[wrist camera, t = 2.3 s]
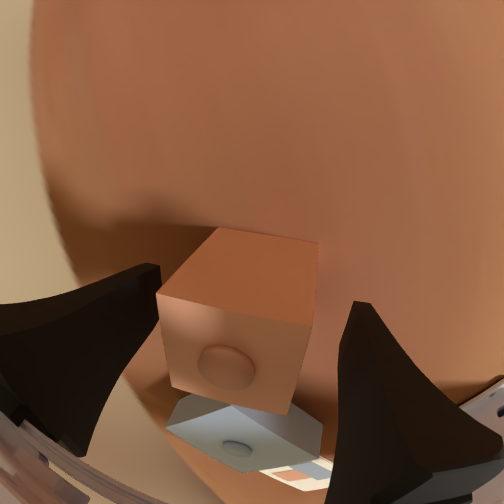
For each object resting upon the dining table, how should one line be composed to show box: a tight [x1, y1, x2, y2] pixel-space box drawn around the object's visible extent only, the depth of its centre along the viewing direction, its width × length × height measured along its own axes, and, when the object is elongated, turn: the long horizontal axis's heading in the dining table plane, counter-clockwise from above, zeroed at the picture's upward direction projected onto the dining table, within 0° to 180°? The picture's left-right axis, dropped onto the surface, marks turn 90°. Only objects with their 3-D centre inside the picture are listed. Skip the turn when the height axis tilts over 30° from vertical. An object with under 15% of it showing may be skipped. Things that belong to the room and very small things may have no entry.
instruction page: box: [260, 456, 333, 491], centre depth 19 cm, size 7×10×1 cm
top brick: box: [156, 227, 319, 416], centre depth 10 cm, size 4×4×5 cm
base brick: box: [164, 393, 323, 473], centre depth 16 cm, size 7×7×3 cm
